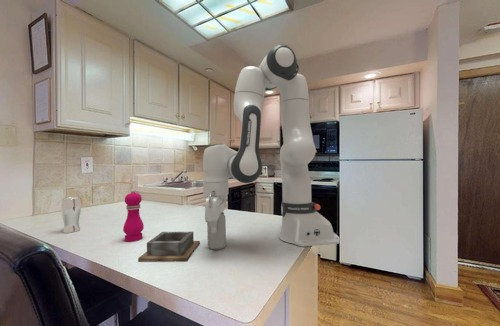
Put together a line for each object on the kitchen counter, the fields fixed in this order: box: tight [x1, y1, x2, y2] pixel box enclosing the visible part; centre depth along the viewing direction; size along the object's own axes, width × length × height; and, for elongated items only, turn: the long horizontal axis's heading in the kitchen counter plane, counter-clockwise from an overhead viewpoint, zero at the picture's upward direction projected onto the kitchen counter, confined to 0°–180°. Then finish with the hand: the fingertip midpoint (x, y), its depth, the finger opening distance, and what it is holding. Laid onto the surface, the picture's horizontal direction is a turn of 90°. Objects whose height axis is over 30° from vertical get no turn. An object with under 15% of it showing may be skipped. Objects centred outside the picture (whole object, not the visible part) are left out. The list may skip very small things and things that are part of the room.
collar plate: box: [137, 231, 201, 263], centre depth 74 cm, size 15×15×5 cm
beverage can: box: [206, 211, 227, 251], centre depth 78 cm, size 6×6×12 cm
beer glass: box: [60, 196, 82, 234], centre depth 100 cm, size 7×7×15 cm
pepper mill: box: [122, 188, 145, 243], centre depth 88 cm, size 7×7×20 cm
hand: (216, 228), depth 78 cm, fingers open, 7 cm apart
